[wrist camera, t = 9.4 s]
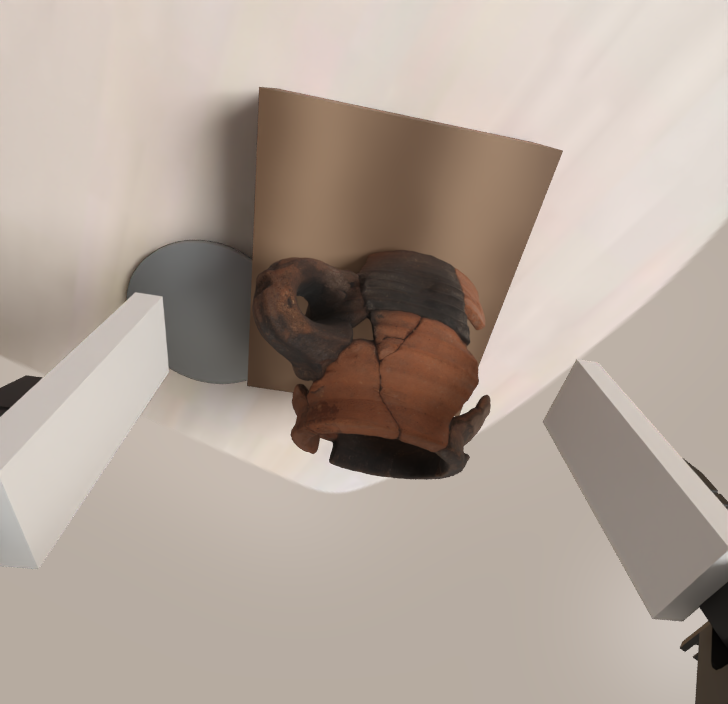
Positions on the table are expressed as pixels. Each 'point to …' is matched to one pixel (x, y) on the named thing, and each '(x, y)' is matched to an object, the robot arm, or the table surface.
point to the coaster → (201, 307)
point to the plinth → (387, 202)
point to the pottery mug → (378, 360)
